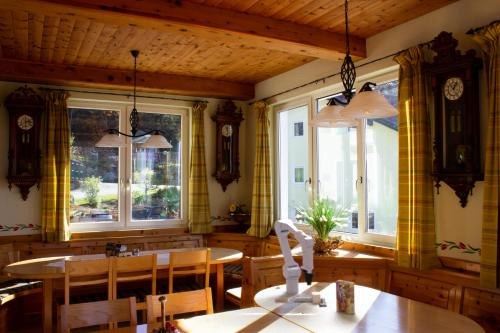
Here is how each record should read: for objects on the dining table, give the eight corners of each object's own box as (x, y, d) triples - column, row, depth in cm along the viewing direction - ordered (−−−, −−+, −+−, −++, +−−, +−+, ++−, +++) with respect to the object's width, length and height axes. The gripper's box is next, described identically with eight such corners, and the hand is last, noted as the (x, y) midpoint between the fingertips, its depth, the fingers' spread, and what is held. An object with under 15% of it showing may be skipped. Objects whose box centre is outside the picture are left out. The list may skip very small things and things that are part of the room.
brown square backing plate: (275, 300, 239) (275, 298, 239) (288, 300, 238) (287, 298, 238) (274, 304, 231) (274, 302, 231) (287, 304, 230) (287, 303, 230)
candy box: (355, 312, 215) (354, 282, 216) (350, 314, 213) (349, 283, 213) (341, 308, 222) (340, 279, 223) (336, 310, 219) (335, 280, 220)
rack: (292, 299, 240) (292, 294, 240) (324, 299, 238) (324, 294, 238) (292, 306, 228) (292, 300, 228) (326, 306, 226) (326, 301, 226)
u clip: (311, 300, 235) (311, 292, 236) (318, 300, 235) (318, 291, 236) (313, 303, 230) (312, 294, 230) (320, 302, 230) (320, 294, 230)
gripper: (299, 256, 246) (299, 280, 246) (302, 261, 231) (302, 286, 231) (311, 256, 246) (312, 280, 246) (315, 261, 231) (315, 286, 231)
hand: (308, 283), depth 238 cm, fingers open, 7 cm apart
